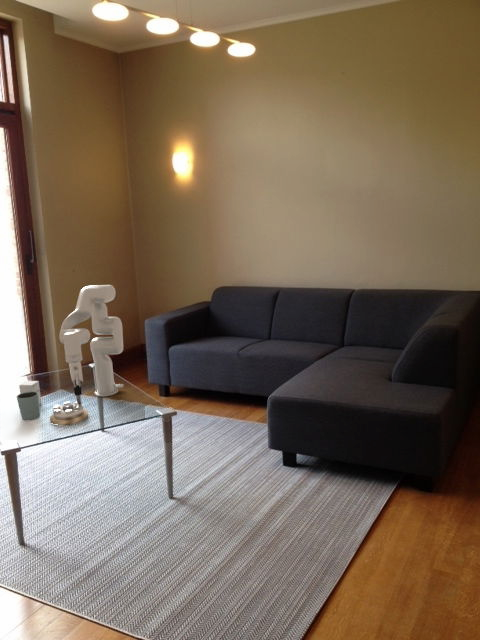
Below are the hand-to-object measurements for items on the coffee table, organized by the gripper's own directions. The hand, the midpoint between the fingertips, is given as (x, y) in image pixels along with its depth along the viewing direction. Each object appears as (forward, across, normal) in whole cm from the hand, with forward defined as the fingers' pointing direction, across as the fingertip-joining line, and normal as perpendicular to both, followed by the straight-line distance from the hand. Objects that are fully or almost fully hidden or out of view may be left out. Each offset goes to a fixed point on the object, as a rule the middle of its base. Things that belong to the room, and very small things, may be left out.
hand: (78, 394), depth 278 cm
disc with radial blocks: (+11, +6, +5) cm, 14 cm away
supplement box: (+13, +36, +22) cm, 44 cm away
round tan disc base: (+13, +6, +5) cm, 16 cm away
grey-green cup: (+13, +18, +23) cm, 32 cm away
